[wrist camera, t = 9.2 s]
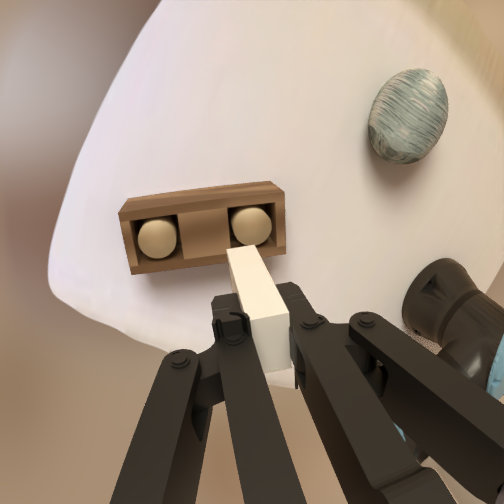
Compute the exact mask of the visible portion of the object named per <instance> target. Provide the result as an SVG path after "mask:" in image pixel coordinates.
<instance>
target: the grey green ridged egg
mask: <svg viewBox="0 0 504 504" xmlns="http://www.w3.org/2000/svg"><path fill="white" fill-rule="evenodd" d="M447 117H448V98H447V94H446V90H445V88H444V85H443V83H442V82H441V80H440V79H439V77H438V76H437V75H436V74H435V73H433V72H431V71H429V70H424V69H410V70H406V71H403V72H401V73H398V74H397V75H395V76H393V77H392V78H391V79H390V80H389V81H388V82H387V83H386V84H385V85H384V86H383V87H382V88H381V90H380V91H379V93H378V95H377V97H376V99H375V101H374V103H373V106H372V109H371V112H370V116H369V123H368V130H369V137H370V140H371V143H372V146H373V148H374V149H375V151H376V152H377V153H378V155H379V156H381V157H382V158H383V159H385V160H386V161H389V162H392V163H396V164H409V163H413V162H416V161H418V160H420V159H422V158H423V157H424V156H426V155H427V154H428V153H429V152H430V151H431V149H432V148H433V147H434V146H435V144H436V143H437V142H438V140H439V138H440V136H441V135H442V133H443V130H444V127H445V124H446V121H447Z"/></svg>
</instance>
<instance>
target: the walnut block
mask: <svg viewBox="0 0 504 504" xmlns="http://www.w3.org/2000/svg"><path fill="white" fill-rule="evenodd" d="M254 204H259V206H260V207H261V208H262V209H263V210H264V212H265V213H266V214H267V215H268V217H269V218H270V220H271V225H272V228H271V233H270V235H269V237H268V238H267V239H266V240H265V241H264V242H262V243H261V244H258V245H255V247H256V249H257V251H258V253H259V255H260V257H269V256H276V255H283V254H286V232H285V195H284V191H283V190H281V189H280V188H279V187H277V186H276V185H275V184H273V183H272V182H271V181H264V182H253V183H243V184H234V185H224V186H216V187H207V188H199V189H191V190H183V191H176V192H169V193H162V194H155V195H148V196H142V197H135V198H129V199H128V200H127V201H126V202H125V204H124V205H123V207H122V208H121V209H120V211H119V212H118V215H119V220H120V225H121V230H122V235H123V240H124V244H125V249H126V254H127V258H128V262H129V267H130V271H131V275H136V274H144V273H151V272H159V271H166V270H174V269H181V268H188V267H196V266H203V265H211V264H218V263H225V262H228V257H227V251H226V249H231V248H237V247H243V246H248V245H244V244H242V243H241V242H240V241H238V239H237V238H236V236H235V234H234V232H233V229H232V227H231V224H230V222H229V219H228V210H229V208H230V207H236V206H245V205H254ZM166 215H174V216H175V218H176V220H177V235H176V245H175V248H174V250H173V251H172V252H171V253H170V254H169V255H168V256H166V257H163V258H152V257H149V256H147V255H146V254H144V253H143V252H142V250H141V249H140V247H139V244H138V235H139V232H140V230H141V227H142V225H143V222H144V220H145V218H152V217H159V216H166Z"/></svg>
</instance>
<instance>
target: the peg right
mask: <svg viewBox="0 0 504 504" xmlns="http://www.w3.org/2000/svg"><path fill="white" fill-rule="evenodd" d="M228 219H229V222H230V224H231V227H232V229H233V232H234V234H235V236H236V238H237V239H238V241H240V242H241V243H242V244H244V245H248V246H249V245H258V244H261V243H262V242H264V241H265V240H266V239H267V238H268V237H269V235H270V233H271V228H272V225H271V220H270V218H269V217H268V215H267V214H266V213H265V212H264V210H263V209H262V208H261V207H260V206H259V204H254V205H245V206H236V207H230V208H229V210H228Z"/></svg>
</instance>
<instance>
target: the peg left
mask: <svg viewBox="0 0 504 504" xmlns="http://www.w3.org/2000/svg"><path fill="white" fill-rule="evenodd" d="M176 235H177V220H176V218H175V216H174V215H166V216H159V217H152V218H145V220H144V222H143V225H142V227H141V230H140V232H139V235H138V244H139V247H140V249H141V250H142V252H143V253H144V254H146V255H147V256H149V257H152V258H163V257H166V256H168V255H169V254H170V253H171V252H172V251H173V250H174V248H175V245H176Z"/></svg>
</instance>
